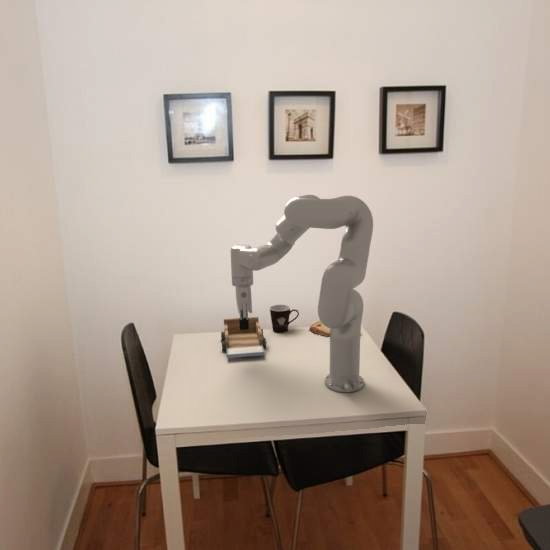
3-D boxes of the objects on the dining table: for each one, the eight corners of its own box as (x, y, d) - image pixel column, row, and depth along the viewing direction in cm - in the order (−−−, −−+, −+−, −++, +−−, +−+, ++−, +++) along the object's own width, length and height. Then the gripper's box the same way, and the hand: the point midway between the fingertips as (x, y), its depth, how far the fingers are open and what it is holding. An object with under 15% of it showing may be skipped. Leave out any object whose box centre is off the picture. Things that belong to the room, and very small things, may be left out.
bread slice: (364, 336, 191) (364, 328, 190) (323, 343, 185) (323, 334, 184) (343, 322, 207) (343, 314, 207) (305, 328, 202) (305, 320, 201)
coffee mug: (267, 333, 196) (266, 310, 194) (273, 325, 204) (273, 304, 202) (294, 335, 193) (294, 312, 191) (299, 328, 201) (299, 305, 199)
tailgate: (262, 348, 178) (264, 355, 172) (226, 351, 176) (227, 357, 170) (262, 345, 177) (264, 351, 172) (226, 348, 176) (227, 354, 170)
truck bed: (266, 350, 179) (266, 330, 177) (222, 353, 177) (221, 333, 175) (262, 334, 195) (261, 316, 193) (221, 337, 193) (220, 319, 191)
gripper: (255, 285, 158) (256, 336, 163) (251, 274, 173) (252, 321, 177) (232, 286, 157) (235, 337, 162) (230, 275, 172) (232, 322, 176)
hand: (244, 329), depth 170 cm, fingers closed
